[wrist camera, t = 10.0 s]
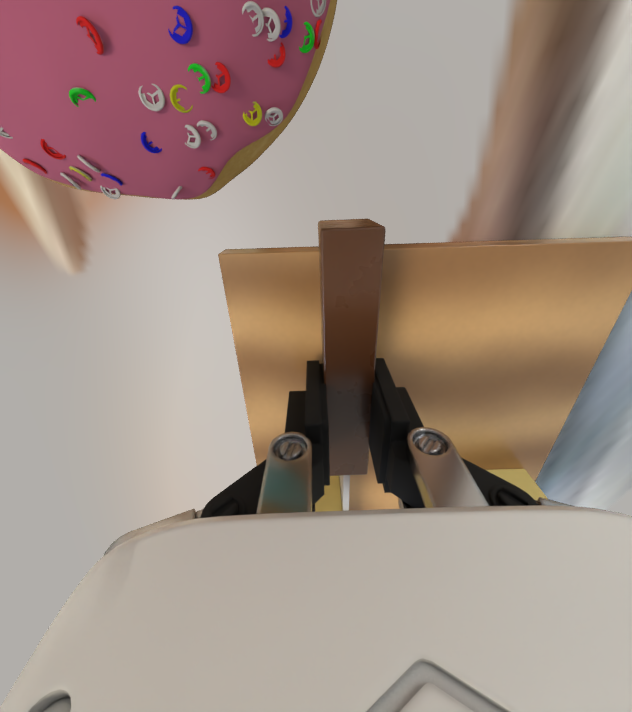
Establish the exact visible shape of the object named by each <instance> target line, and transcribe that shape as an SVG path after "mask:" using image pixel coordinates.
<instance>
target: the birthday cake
mask: <svg viewBox="0 0 632 712" xmlns="http://www.w3.org/2000/svg"><path fill="white" fill-rule="evenodd" d="M336 4H337V0H0V149H2V150H3V151H4V152H5V153H7V154H8V155H9V156H11V157H12V158H13V159H15V160H16V161H17V162H19V163H20V164H22V165H23V166H25V167H26V168H28V169H30V170H31V171H33V172H35V173H37V174H39V175H41V176H43V177H45V178H47V179H49V180H51V181H53V182H56V183H58V184H61V185H64V186H67V187H71V188H75V189H79V190H84V191H91V192H99V193H104V194H105V195H106V196H108V197H110V198H112V199H118V198H119V197H120V195H130V196H139V197H150V198H165V199H201V198H205V197H208V196H210V195H212V194H214V193H216V192H217V191H219V190H220V189H221V188H222V187H224V186H225V185H226V184H227V183H228V182H229V181H231V180H232V179H233V178H235V177H236V176H237V175H238V174H240V173H241V172H243V171H244V170H245V169H246V168H247V167H248V166H250V165H251V164H252V163H253V162H254V161H255V160H256V159H258V157H260V155H261V154H262V153H263V152H264V151H265V150H266V149H267V148H268V147H269V146H270V145H271V144H272V143H273V142H274V141H275V139H276V138H277V137H278V136H279V135H280V134H281V133H282V131H283V130H284V129H285V128H286V127H287V125H288V124H289V122H290V121H291V120H292V118H293V117H294V115H295V114H296V112H297V111H298V109H299V107H300V105H301V104H302V102H303V100H304V98H305V97H306V95H307V93H308V91H309V89H310V87H311V85H312V83H313V80H314V78H315V76H316V74H317V71H318V69H319V66H320V64H321V61H322V58H323V55H324V52H325V49H326V46H327V43H328V39H329V36H330V31H331V28H332V24H333V19H334V15H335V10H336Z"/></svg>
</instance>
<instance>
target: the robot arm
mask: <svg viewBox="0 0 632 712" xmlns="http://www.w3.org/2000/svg"><path fill="white" fill-rule="evenodd" d="M369 448H370V452H371V457H372V461H373V466H374V470H375V475H376V479H377V483H378V484H383V488H384V492H385V493H392V494H394V495H395V496H397V497H398V504H399V508H400V509H379V510H350V511H323V512H316V505H315V503H316V502H317V501H318V500H319V499H320V498H321V497H322V496H323V495H324V486H328V485H330V464H329V422H328V408H327V394H326V385H325V384H324V375H323V363H321V364H319V360H313V361H307V367H306V391H290V392H289V398H288V407H287V416H286V425H285V433H283V434H280V435H279V436H277V437H276V438H274V439H273V441H272V442H271V443H270V446H269V449H268V454H267V459H266V460H264V461H263V462H262V463H260V464H259V465H257V466H256V467H255V468H253V469H252V470H251V471H249V472H248V473H247V474H245V475H244V476H243V477H241V478H240V479H239V480H237V481H236V482H234V483H233V484H232V485H230V486H229V487H227V488H226V489H225V490H223V491H222V492H221V493H219V494H218V495H217V496H215V497H214V498H213V499H211V501H209V502H208V503H207V505H206V506H205V508H204V509H203V510H200V511H197V512H195V509H192V510H189V511H186V512H184V513H181V514H178V515H175V516H173V517H170V518H167V519H164V520H161V521H158V522H156V523H153V524H150V525H148V526H145V527H142V528H139V529H137V530H133V531H131V532H128V533H127V534H125V535H123V536H121V537H119V538H118V539H117V540H116V541H115V542H113V543H112V544H111V545H110V547H109V548H108V549H107V551H106V552H105V554H104V556H103V557H102V558H101V559H100V560H99V561H98V562H97V563H96V564H95V565H94V566H93V567H92V568H91V570H90V571H89V572H88V573H87V574H86V576H85V577H84V578H83V579H82V580H81V582H80V583H79V584H78V586H77V587H76V589H75V590H74V592H73V593H72V594H71V596H70V597H69V598H68V600H67V601H66V603H65V604H64V606H63V607H62V609H61V610H60V612H59V613H58V615H57V616H56V618H55V619H54V621H53V623H52V624H51V625H50V627H49V628H48V630H47V631H46V633H45V635H44V637H43V638H42V640H41V641H40V643H39V644H38V646H37V648H36V649H35V651H34V653H33V654H32V656H31V658H30V659H29V661H28V662H27V664H26V666H25V667H24V669H23V671H22V672H21V674H20V675H19V677H18V679H17V680H16V682H15V684H14V685H13V687H12V688H11V690H10V692H9V693H8V695H7V697H6V698H5V700H4V702H3V704H2V705H1V707H0V712H632V516H629V515H626V514H622V513H617V512H612V511H606V510H601V509H596V508H586V507H576V506H572V505H568V504H564V503H560V502H557V501H553V500H549V499H545V498H541V497H539V498H538V500H534V499H533V498H532V497H531V496H530V495H529V494H528V493H527V492H525V491H524V490H522V489H520V488H519V487H517V486H515V485H513V484H511V483H509V482H508V481H506V480H504V479H502V478H500V477H498V476H496V475H494V474H492V473H490V472H488V471H486V470H485V469H483V468H481V467H479V466H477V465H475V464H473V463H471V462H469V461H467V460H465V459H463V458H462V457H461V456H460V455H459V453H458V451H457V449H456V448H455V446H454V444H453V442H452V441H451V440H450V438H449V437H448V436H447V435H445V434H444V433H443V432H441V431H439V430H437V429H433V428H429V427H424V426H423V423H422V421H421V419H420V417H419V415H418V413H417V411H416V409H415V407H414V404H413V402H412V400H411V398H410V396H409V394H408V392H407V390H406V388H405V387H396V386H395V383H394V381H393V379H392V376H391V374H390V372H389V369H388V367H387V365H386V362H385V360H384V358H376V365H375V379H374V383H373V386H372V401H371V415H370V429H369Z"/></svg>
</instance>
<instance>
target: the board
mask: <svg viewBox="0 0 632 712" xmlns="http://www.w3.org/2000/svg"><path fill="white" fill-rule="evenodd" d="M218 256H219V262H220V267H221V272H222V278H223V284H224V289H225V294H226V300H227V305H228V310H229V316H230V322H231V327H232V333H233V338H234V343H235V349H236V354H237V359H238V365H239V371H240V376H241V382H242V387H243V393H244V398H245V403H246V408H247V414H248V420H249V424H250V430H251V436H252V442H253V447H254V453H255V458H256V463H257V465H259V464H260V463H262V462H263V461H264V460H266V459H267V454H268V449H269V446H270V443H271V442H272V441H273V439H274V438H276V437H277V436H279V435H280V434H283V433H285V425H286V416H287V407H288V398H289V392H290V391H306V367H307V361H313V360H319V364H321V363H322V334H321V301H320V267H319V247H288V248H257V249H226V250H224V251H223V252H221V253H220V254H219V255H218ZM631 291H632V237H603V238H571V239H540V240H508V241H477V242H445V243H416V244H415V243H414V244H384V256H383V269H382V283H381V297H380V311H379V324H378V338H377V352H376V358H384V360H385V362H386V365H387V367H388V369H389V372H390V374H391V376H392V379H393V381H394V383H395V386H396V387H405V388H406V390H407V392H408V394H409V396H410V398H411V400H412V402H413V404H414V407H415V409H416V411H417V413H418V415H419V417H420V419H421V421H422V423H423V426H424V427H429V428H433V429H437V430H439V431H441V432H443V433H444V434H445V435H447V436H448V437H449V438H450V440H451V441H452V442H453V444H454V446H455V448H456V449H457V451H458V453H459V455H460V456H461V457H462V458H463V459H465V460H467V461H469V462H471V463H473V464H475V465H477V466H479V467H481V468H483V469H485V470H493V469H525V470H526V471H527V472H528V474H529V475H530V476H531V478H532V479H533V480H534V482H535V481H536V479H537V477H538V475H539V473H540V471H541V469H542V467H543V465H544V463H545V461H546V459H547V457H548V455H549V453H550V451H551V449H552V447H553V445H554V443H555V441H556V439H557V437H558V435H559V433H560V431H561V429H562V427H563V425H564V423H565V421H566V419H567V417H568V415H569V413H570V411H571V409H572V407H573V405H574V403H575V402H576V400H577V398H578V396H579V394H580V392H581V390H582V388H583V386H584V384H585V382H586V380H587V378H588V376H589V374H590V372H591V370H592V368H593V366H594V364H595V362H596V360H597V358H598V356H599V354H600V352H601V350H602V348H603V346H604V344H605V342H606V340H607V338H608V336H609V334H610V332H611V330H612V328H613V326H614V324H615V322H616V320H617V318H618V316H619V314H620V312H621V311H622V309H623V307H624V305H625V303H626V301H627V299H628V297H629V295H630V293H631ZM379 509H400V508H399V504H398V497H397V496H395V495H394V494H392V493H385V492H384V488H383V484H378V483H377V479H376V475H375V470H374V466H373V461H372V457H371V452H370V448H369V461H368V473H367V474H366V475H350V492H349V511H350V510H379Z"/></svg>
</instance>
